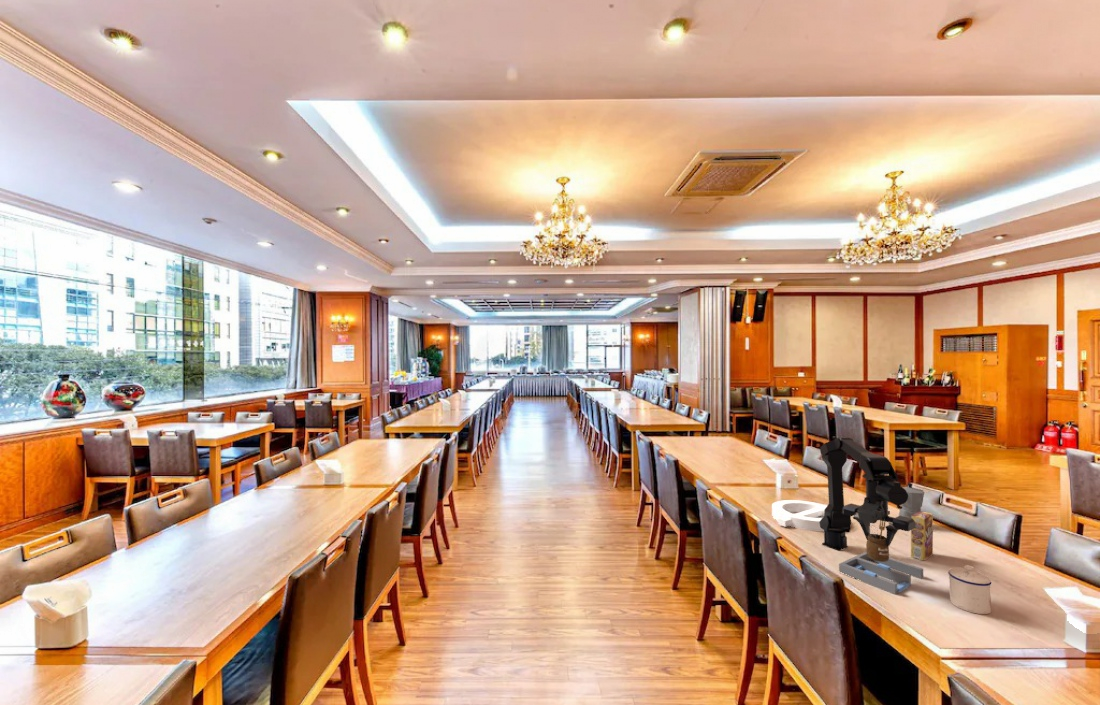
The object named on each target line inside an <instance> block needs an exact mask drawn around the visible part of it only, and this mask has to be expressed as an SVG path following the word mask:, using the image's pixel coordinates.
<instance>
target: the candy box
mask: <svg viewBox="0 0 1100 705" xmlns="http://www.w3.org/2000/svg"><path fill="white" fill-rule="evenodd" d="M933 518H934V516H933V514H932V513H931V512H925V511H922V510H921V511H919V512H918V513H916V514H914V515H912V516H911V519H913V520H914V521H915V524H916V528H914V529H912V530H910V557H911V558H913V557H914V559H916V558H917V560H919V559H920V560H921V561H925V560H927V559H928V558H930V557H932V556H933V553H934V552H933V551H934V550H933V546H934V544H933V542H934V541H933V540H934V539H933V538H934V537H933V536H934V535H933V534H934V530H933V529H934V527H933V525H934V524H933V522H934V520H933ZM920 560H919V561H920Z"/></svg>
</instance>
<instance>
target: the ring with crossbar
mask: <svg viewBox="0 0 1100 705" xmlns="http://www.w3.org/2000/svg"><path fill="white" fill-rule="evenodd" d="M827 506H828V504H824V503H823V504H822V503H819V502H813V501H807V500H798V499H797V500H796V499H786V500H785V499H783V500H778V501H775V502H773V503H771V517H772V516H773V517H772V518H773V519H774V520H775V519H776V520H775V521H777V525H779V526H782V527H785V528H786V527H790V526H791V527H790V528H794V527H795V529H799V530H804V531H810V532H817V533H824V530H823V529H822V528H820V523H819V522H820V520H821V519H822V518H823V517H824V510H825V508H826V507H827Z"/></svg>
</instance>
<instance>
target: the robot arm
mask: <svg viewBox="0 0 1100 705" xmlns="http://www.w3.org/2000/svg"><path fill="white" fill-rule="evenodd" d="M819 449H820V450H819V451H820V454H821V459H822V461H823V462H824V464H825V465H826V467H827V469H826V470H827V471H826V472H827V489H828V490H827V491H828V504H827V505H828V506H827V507H826V508H825V510H824V517H821V518H822V519H821V520H820V522H819V523H820V528H822V529H823V530H824V532H823V533H824V534H823V538H824V541H823V542H821V545H822V546H824V547H825V546H826V547H827V548H831V549H834V550H836V551H842V550H845V549H847V548H848V547H849V545H848V538H847V536H846V533H850V530H851V526H852V520H851V519H852V518H853V520H855V521H856V522H857V523H858V524H859V525H860V527H861V529H862V532H863V534H864V536H865V539H866V541H867V540H868V534H871V524H876V523H877V522H878V521H880V520H881V522H882V521H883V522H884V521H885V523H888V525H885V530H886V535H885V537H886V544H887V546H889V547H890V545H891V543H892V542H893V540H894V538H895V536H896V534H897V533H898V531H905V532H911V530H912V529H914V528H916V524H915V521H914V520H913V519H911V518H907V517H903V516H899V515H898V516H896V517H893V516H889V515H891V512H890V511H889V503H891V504H893V505H896V506H897V505H900V506H901V505H902V504H904V503H905V502H906V501H907V499H908V494H907V492H906V490H905V489H904V488H902V487H903V486H902V484H901V482H899V478H898V474H897V472H896V471H895V469H894V467H893V465H892V462H891V461H890V460H889V459H888V457H886V456H884V455H881V454H877V453H872V452H870V451H869V450H867V449H866V448H864V447H863V446H862V445H860V444H858V442H855V441H854V440H853V438H852V437H848V436H847V437H846V436H845V437H844V436H843V437H841V436H839V437H835V438H834V439H833V440H830V441H828V442H825V443H823V444H822V445H821V446H820V448H819ZM848 456H850V457H851V458H853V459H854V460H855V461H857V463H859V466H858V467H859V468H860V469H861V470H862V471H863V472H864V473H863V474H862V478H863V479H865V497H863V498H864V499H863V504H861V505H859V504H854V503H848V504H845V498H844V480H843V479H844V477H843V476H844V475H843V467H844V465H845V464H846V463H847V460H848ZM869 526H870V527H869ZM869 528H870V529H869ZM869 532H870V533H869Z"/></svg>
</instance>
